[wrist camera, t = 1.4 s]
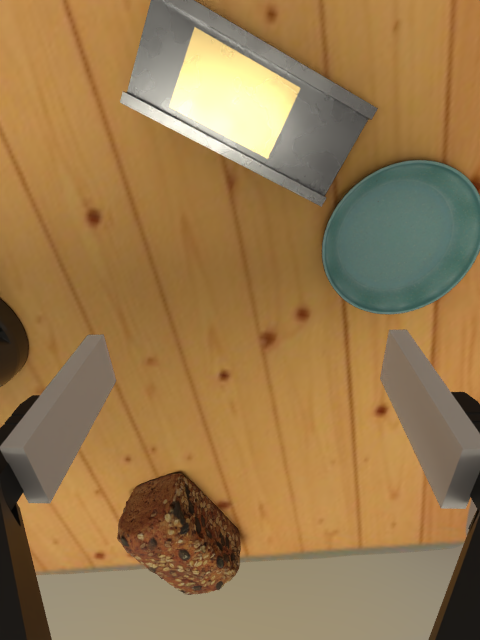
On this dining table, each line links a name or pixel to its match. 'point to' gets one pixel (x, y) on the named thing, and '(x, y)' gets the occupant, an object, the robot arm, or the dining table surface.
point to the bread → (180, 535)
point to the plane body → (316, 91)
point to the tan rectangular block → (232, 94)
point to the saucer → (402, 237)
